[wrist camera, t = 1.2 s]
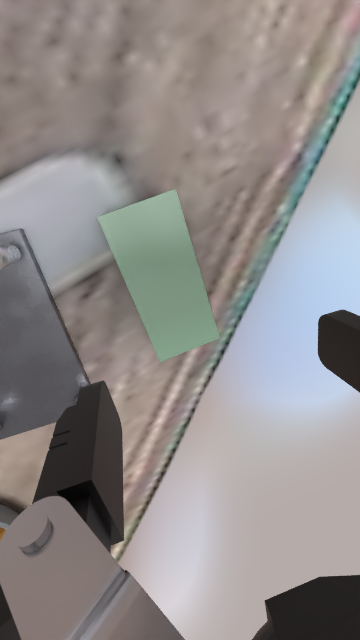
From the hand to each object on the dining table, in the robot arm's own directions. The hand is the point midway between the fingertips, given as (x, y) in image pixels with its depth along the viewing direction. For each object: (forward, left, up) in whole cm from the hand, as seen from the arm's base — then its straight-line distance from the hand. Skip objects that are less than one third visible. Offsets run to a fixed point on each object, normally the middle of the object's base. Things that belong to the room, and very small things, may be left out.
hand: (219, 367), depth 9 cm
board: (0, 0, -16) cm, 16 cm away
